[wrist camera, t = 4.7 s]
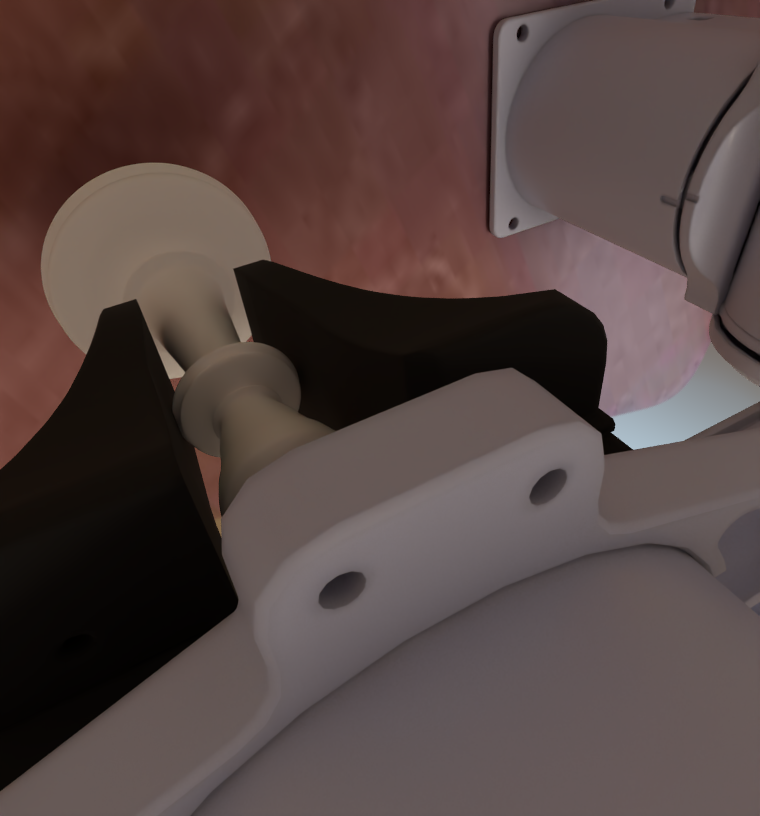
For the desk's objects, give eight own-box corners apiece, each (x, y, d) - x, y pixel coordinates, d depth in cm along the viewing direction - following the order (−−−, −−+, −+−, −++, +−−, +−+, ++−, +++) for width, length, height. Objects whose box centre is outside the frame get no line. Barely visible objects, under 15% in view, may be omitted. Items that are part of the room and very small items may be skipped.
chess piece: (155, 403, 16) (308, 774, 9) (-18, 266, 12) (1, 703, 5) (302, 281, 16) (571, 546, 9) (173, 110, 12) (452, 322, 5)
